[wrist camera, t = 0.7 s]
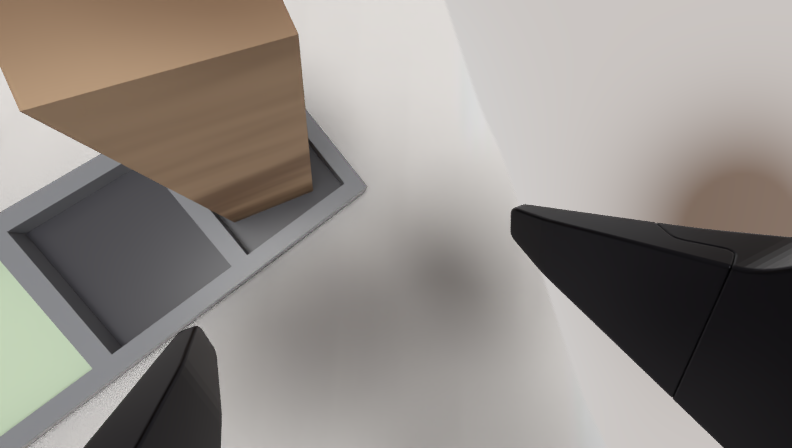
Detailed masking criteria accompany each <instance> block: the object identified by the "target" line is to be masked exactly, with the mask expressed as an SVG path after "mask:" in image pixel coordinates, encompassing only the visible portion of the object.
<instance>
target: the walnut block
mask: <svg viewBox="0 0 792 448" xmlns="http://www.w3.org/2000/svg"><path fill="white" fill-rule="evenodd" d="M0 67H1V69H2V72H3V74H4V76H5V79H6V81H7V83H8V85H9V88H10V90H11V92H12V94H13V97H14V99H15V101H16V104H17V106H18V108H19V110H20V112H22V113H24V114H26V115H28V116H30V117H32V118H34V119H36V120H38V121H40V122H42V123H43V124H45V125H47V126H49V127H51V128H53V129H55V130H57V131H59V132H61V133H63V134H65V135H67V136H69V137H70V138H72V139H74V140H76V141H78V142H80V143H82V144H84V145H86V146H88V147H90V148H92V149H94V150H96V151H97V152H99V153H101V154H103V155H105V156H107V157H109V158H111V159H113V160H115V161H117V162H119V163H121V164H123V165H124V166H126V167H128V168H130V169H132V170H134V171H136V172H138V173H140V174H142V175H144V176H146V177H148V178H149V179H151V180H153V181H155V182H157V183H159V184H161V185H163V186H165V187H167V188H169V189H171V190H173V191H175V192H176V193H178V194H180V195H182V196H184V197H186V198H188V199H190V200H192V201H194V202H196V203H198V204H200V205H202V206H203V207H205V208H207V209H209V210H211V211H213V212H215V213H217V214H219V215H221V216H223V217H225V218H227V219H229V220H230V221H232V222H237V221H239V220H242V219H244V218H247V217H249V216H252V215H254V214H257V213H259V212H262V211H264V210H267V209H269V208H272V207H274V206H277V205H279V204H282V203H284V202H287V201H289V200H292V199H294V198H297V197H299V196H302V195H304V194H307V193H309V192H312V191H313V186H312V175H311V164H310V154H309V143H308V132H307V122H306V111H305V100H304V90H303V79H302V68H301V58H300V47H299V36H298V33H297V30H296V28H295V26H294V24H293V22H292V20H291V17H290V15H289V13H288V11H287V9H286V7H285V4H284V2H283V0H0Z"/></svg>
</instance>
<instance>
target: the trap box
mask: <svg viewBox="0 0 792 448" xmlns="http://www.w3.org/2000/svg"><path fill="white" fill-rule="evenodd" d="M305 111H306V122H307V132H308V143H309V154H310V164H311V175H312V186H313V191H312V192H309V193H307V194H304V195H302V196H299V197H297V198H294V199H292V200H289V201H287V202H284V203H282V204H279V205H277V206H274V207H272V208H269V209H267V210H264V211H262V212H259V213H257V214H254V215H252V216H249V217H247V218H244V219H242V220H239V221H237V222H232V221H230V220H229V219H227V218H225V217H223V216H221V215H219V214H217V213H215V212H213V211H211V210H209V209H207V208H205V207H203V206H202V205H200V204H198V203H196V202H194V201H192V200H190V199H188V198H186V197H184V196H182V195H180V194H178V193H176V192H175V191H173V190H171V189H169V188H167V187H165V186H163V185H161V184H159V183H157V182H155V181H153V180H151V179H149V178H148V177H146V176H144V175H142V174H140V173H138V172H136V171H134V170H132V169H130V168H128V167H126V166H124V165H123V164H121V163H119V162H117V161H115V160H113V159H111V158H109V157H107V156H105V155H103V154H100V155H98V156H97V157H95V158H93V159H91V160H90V161H88V162H86V163H84V164H83V165H81V166H79V167H78V168H76V169H74V170H72V171H71V172H69V173H67V174H65V175H64V176H62V177H60V178H59V179H57V180H55V181H53V182H52V183H50V184H48V185H46V186H45V187H43V188H41V189H40V190H38V191H36V192H34V193H33V194H31V195H29V196H27V197H26V198H24V199H22V200H21V201H19V202H17V203H15V204H14V205H12V206H10V207H8V208H7V209H5V210H3V211H2V212H0V448H26V447H28V446H29V445H30V444H32V443H33V442H34V441H36V440H37V439H38V438H40V437H41V436H42V435H44V434H45V433H46V432H47V431H49V430H50V429H51V428H53V427H54V426H55V425H57V424H58V423H59V422H61V421H62V420H63V419H65V418H66V417H67V416H69V415H70V414H71V413H73V412H74V411H75V410H77V409H78V408H79V407H81V406H82V405H83V404H85V403H86V402H87V401H88V400H90V399H91V398H92V397H94V396H95V395H96V394H98V393H99V392H100V391H102V390H103V389H104V388H106V387H107V386H108V385H110V384H111V383H112V382H114V381H115V380H116V379H118V378H119V377H120V376H122V375H123V374H124V373H126V372H127V371H128V370H129V369H131V368H132V367H133V366H135V365H136V364H137V363H139V362H140V361H141V360H143V359H144V358H145V357H147V356H148V355H149V354H151V353H152V352H153V351H155V350H156V349H157V348H159V347H160V346H161V345H163V344H164V343H165V342H167V341H168V340H169V339H170V338H172V337H173V336H174V335H176V334H177V333H178V332H180V331H181V330H182V329H184V328H185V327H186V326H188V325H189V324H190V323H192V322H193V321H194V320H196V319H197V318H198V317H200V316H201V315H202V314H204V313H205V312H206V311H207V310H209V309H210V308H211V307H213V306H214V305H215V304H217V303H218V302H219V301H221V300H222V299H223V298H225V297H226V296H227V295H229V294H230V293H231V292H233V291H234V290H235V289H237V288H238V287H239V286H241V285H242V284H243V283H245V282H246V281H247V280H248V279H250V278H251V277H252V276H254V275H255V274H256V273H258V272H259V271H260V270H262V269H263V268H264V267H266V266H267V265H268V264H270V263H271V262H272V261H274V260H275V259H276V258H278V257H279V256H280V255H282V254H283V253H284V252H286V251H287V250H288V249H289V248H291V247H292V246H293V245H295V244H296V243H297V242H299V241H300V240H301V239H303V238H304V237H305V236H307V235H308V234H309V233H311V232H312V231H313V230H315V229H316V228H317V227H319V226H320V225H321V224H323V223H324V222H325V221H326V220H328V219H329V218H330V217H332V216H333V215H334V214H336V213H337V212H338V211H340V210H341V209H342V208H344V207H345V206H346V205H348V204H349V203H350V202H352V201H353V200H354V199H356V198H357V197H358V196H360V195H361V194H362V193H364V192H365V190H366V188H367V186H366V184H365V183H364V182H363V181H362V179H361V178H360V177H359V176H358V174H357V173H356V172H355V171H354V169H353V168H352V167H351V166H350V164H349V163H348V162H347V161H346V159H345V158H344V157H343V156H342V154H341V153H340V152H339V150H338V149H337V148H336V147H335V145H334V144H333V143H332V142H331V140H330V139H329V138H328V137H327V135H326V134H325V133H324V132H323V130H322V129H321V128H320V127H319V125H318V124H317V123H316V121H315V120H314V119H313V118H312V116H311V115H310V114H309V113H308V111H307V110H306V109H305Z"/></svg>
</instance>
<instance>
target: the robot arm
mask: <svg viewBox="0 0 792 448" xmlns="http://www.w3.org/2000/svg"><path fill="white" fill-rule="evenodd" d="M511 235H512V237H513V239H514V240H515V241H516V243H517V244H518V245H519V246H520V247H521V248H522V250H523V251H524V252H525V253H526V254H527V256H528V257H529V258H530V259H531V260H532V261H533V263H534V264H535V265H536V266H537V267H538V269H539V270H540V271H541V272H542V273H543V274H544V275H545V276H546V277H547V278H548V279H549V280H550V281H551V282H552V283H553V284H554V285H555V286H556V287H557V288H558V289H559V290H560V291H561V292H562V293H563V294H565V295H566V296H567V297H568V298H569V299H570V300H571V301H572V302H573V303H574V304H575V305H576V306H577V307H578V308H579V309H580V310H582V312H583V313H584V314H585V315H586V316H587V317H588V318H590V319H591V320H592V321H593V322H594V323H595V324H596V325H597V326H598V327H599V328H600V329H601V330H602V331H603V332H604V333H605V334H607V336H608V337H609V338H610V339H611V340H612V341H614V342H615V343H616V344H617V345H618V346H619V347H620V348H621V349H622V350H623V351H624V352H625V353H626V354H627V355H628V356H629V357H630V358H631V359H632V360H633V361H634V362H635V363H636V364H637V365H638V366H639V367H641V368H642V369H643V370H644V371H645V372H646V373H647V374H648V375H649V376H650V377H651V378H652V379H653V380H654V381H655V382H656V383H657V384H658V385H659V386H660V387H661V388H663V390H664V391H666V392H667V393H668V394H669V395H670V396H671V397H673V399H674V400H675V401H676V402H677V403H678V404H679V405H680V406H681V407H682V408H683V409H684V410H685V411H686V412H687V413H688V414H689V415H690V416H691V417H692V418H693V419H694V420H695V421H696V422H697V423H699V424H700V425H701V426H702V427H703V428H704V429H705V430H706V431H707V432H708V433H709V434H710V435H711V436H712V437H713V438H714V439H715V440H716V441H717V442H718V443H720V445H721V446H722V447H724V448H792V237H781V236H771V235H761V234H751V233H741V232H730V231H720V230H711V229H702V228H693V227H685V226H678V225H670V224H663V223H657V224H656V223H655V222H648V221H641V220H634V219H626V218H619V217H612V216H605V215H598V214H591V213H583V212H577V211H569V210H562V209H555V208H548V207H541V206H534V205H526V204H525V205H521V206H518V207H515V208H513V209H512V211H511ZM221 427H222V412H221V399H220V388H219V377H218V366H217V356H216V352H215V349H214V347H213V345H212V344H211V342H210V341H209V339H208V338H207V336H206V335H205V333H204V332H203V330H202V329H201V328H200V327H198V326H194V327H191V328H188V329H186V330H183V331H181V332H179V333H178V334H177V335H176V336H175V337H174V339H173V340H172V341H171V342H170V343H169V345H168V346H167V347H166V348H165V350H164V351H163V352H162V353H161V354H160V356H159V357H158V358H157V359H156V360H155V362H154V363H153V364H152V365H151V367H150V368H149V369H148V370H147V371H146V373H145V374H144V375H143V376H142V377H141V379H140V380H139V381H138V382H137V383H136V385H135V386H134V387H133V388H132V390H131V391H130V392H129V393H128V394H127V396H126V397H125V398H124V399H123V400H122V402H121V403H120V404H119V405H118V407H117V408H116V409H115V410H114V411H113V413H112V414H111V415H110V416H109V417H108V419H107V420H106V421H105V422H104V423H103V425H102V426H101V427H100V428H99V430H98V431H97V432H96V433H95V434H94V436H93V437H92V438H91V439H90V440H89V442H88V443H87V444H86V445H85V446H84V448H221Z"/></svg>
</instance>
